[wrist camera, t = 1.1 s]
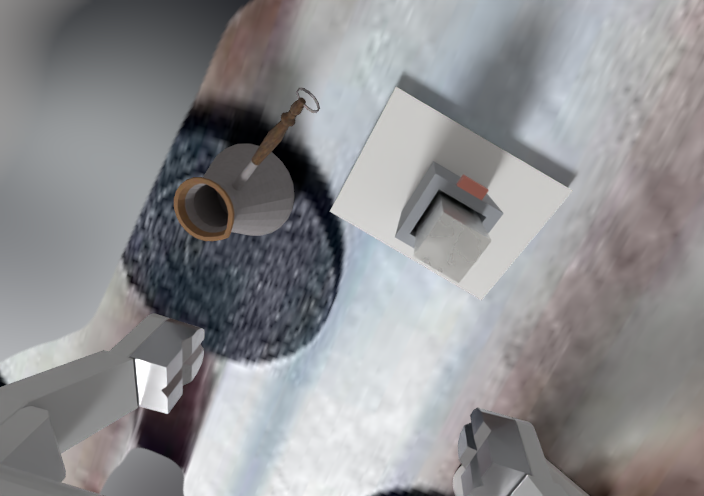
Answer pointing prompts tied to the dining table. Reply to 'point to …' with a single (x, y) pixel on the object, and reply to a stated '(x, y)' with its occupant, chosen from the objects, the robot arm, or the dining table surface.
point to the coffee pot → (241, 188)
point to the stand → (445, 187)
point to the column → (450, 236)
